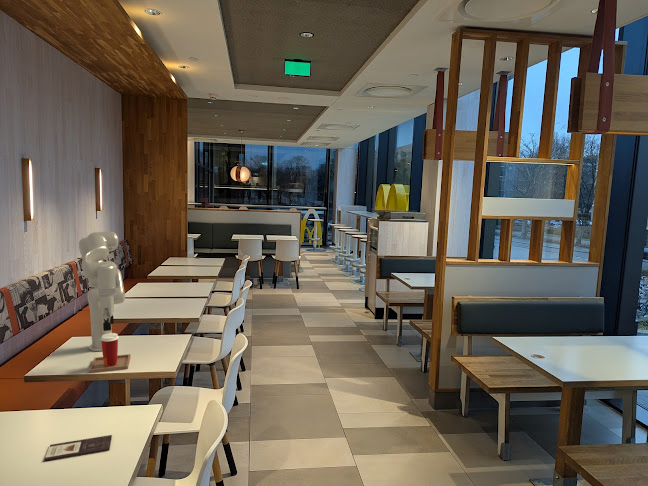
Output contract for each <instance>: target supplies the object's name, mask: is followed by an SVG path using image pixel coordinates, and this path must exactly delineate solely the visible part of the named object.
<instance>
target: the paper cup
mask: <svg viewBox="0 0 648 486" xmlns="http://www.w3.org/2000/svg"><path fill="white" fill-rule="evenodd" d="M119 337H120V336H119V335H118V333H116V332H112V333H108V334H104V335H102V337H101V338H100V340H101V343H102V351H101V352H102V357H103V361H104V366H107V367H110V366H114V365H116V364H117V355H119V354H118V351H119V350H118V346H119V344H118V343H119Z"/></svg>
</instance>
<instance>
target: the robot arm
mask: <svg viewBox="0 0 648 486" xmlns="http://www.w3.org/2000/svg"><path fill="white" fill-rule="evenodd" d="M118 245H119V237H118V235H117V233H116V232H114V231H96V232H92V233H90V234H88V235H87V237H82V238H80V240H79V241H78V250H79V253H80V255H81V258H82V261H81V267H82V268H81V269H82V273H83V276H84V277H85V278H86V279H87V281H88V284H89V286H90V287H92V288H91V289H89V290H88V292H87V296H86V297H87V302H88V307H89V315H90V317H89V318H90V330H91V333H90V334H91V344H90V345H89V346H88V349H89V351H90V352H102V343H101V340H100V338H101V337H102V335H104V334H108V333H113V331H112V328H113V327H112V325H114V323H115V322H114V311H115V310H114V309H115V305H119V304H122V303H124V302H125V299H126V294H125V287H124V281H123V276H122V272H121V270H120V269H119V268H118V267H117V266H118V265H117V264H116V263H115V262H114V261H112V260H111V261H104V260H105V259H106V258H107V257H108V255H109V254H110V252H114V251H115V250H116V249H117V248H118Z"/></svg>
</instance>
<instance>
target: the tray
mask: <svg viewBox="0 0 648 486" xmlns="http://www.w3.org/2000/svg"><path fill="white" fill-rule="evenodd" d="M131 356H132V355H131V354H120V355H119V354H117V364H116V365H114V366H110V367H107V366H104V361H103V356H99V357H94V359H93V360H92V363H91V365H90V367H89V368H88V372H89V373H88V374H91V373H92V374H93V373H102V372H111V371H112V372H113V371H121V370H128V369H129V366H130V361H131Z"/></svg>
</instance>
